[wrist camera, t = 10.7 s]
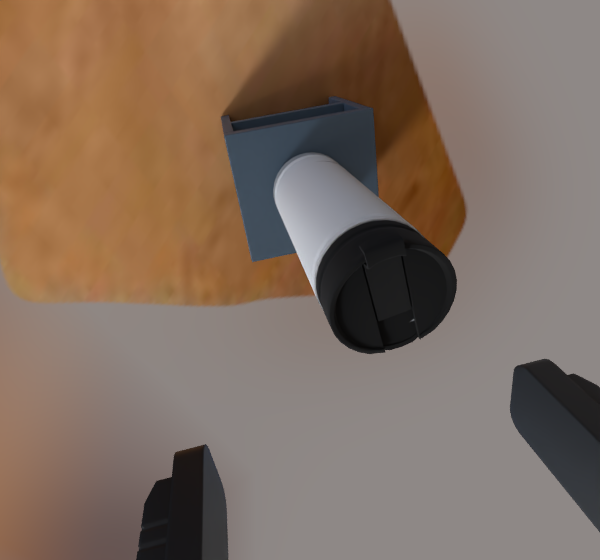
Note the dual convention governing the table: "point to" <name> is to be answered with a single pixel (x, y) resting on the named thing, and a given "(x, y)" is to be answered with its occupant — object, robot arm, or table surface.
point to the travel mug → (362, 257)
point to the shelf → (285, 145)
